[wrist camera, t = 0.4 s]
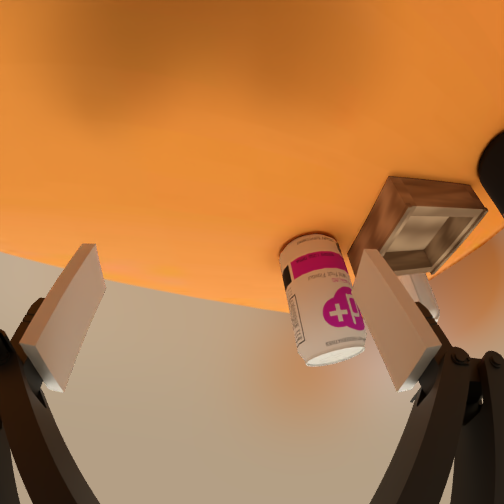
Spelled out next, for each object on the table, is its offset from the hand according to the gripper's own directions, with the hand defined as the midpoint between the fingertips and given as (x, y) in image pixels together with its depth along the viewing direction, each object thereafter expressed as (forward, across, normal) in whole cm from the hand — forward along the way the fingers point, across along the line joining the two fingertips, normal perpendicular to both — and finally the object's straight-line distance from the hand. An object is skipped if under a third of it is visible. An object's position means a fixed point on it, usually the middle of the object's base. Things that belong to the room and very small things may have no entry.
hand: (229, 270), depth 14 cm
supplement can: (+23, +11, -12) cm, 28 cm away
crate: (+21, +25, -6) cm, 33 cm away
